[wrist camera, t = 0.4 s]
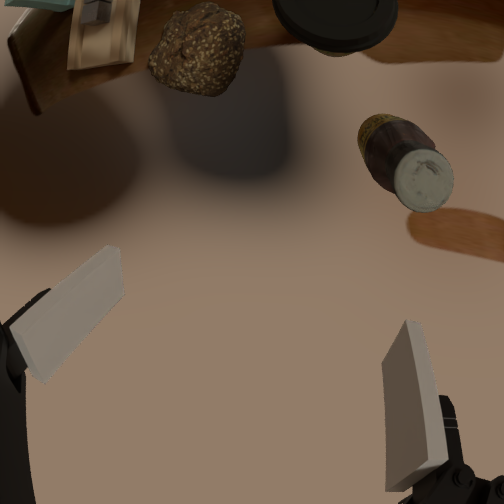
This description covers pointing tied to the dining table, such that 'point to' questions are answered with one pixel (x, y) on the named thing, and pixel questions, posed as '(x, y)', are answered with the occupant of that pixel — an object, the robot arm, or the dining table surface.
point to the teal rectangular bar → (43, 4)
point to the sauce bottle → (405, 162)
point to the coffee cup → (338, 23)
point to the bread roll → (199, 50)
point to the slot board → (103, 37)
